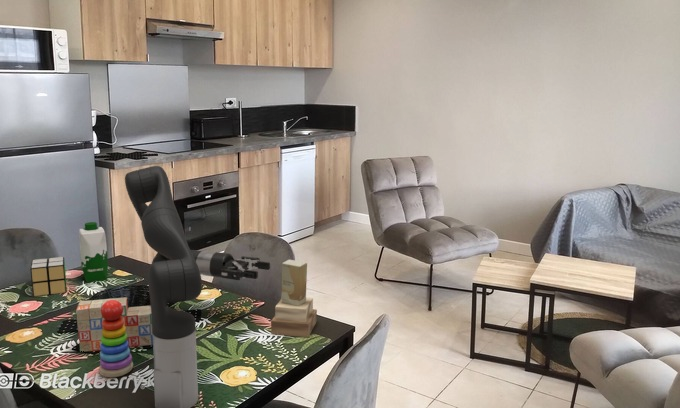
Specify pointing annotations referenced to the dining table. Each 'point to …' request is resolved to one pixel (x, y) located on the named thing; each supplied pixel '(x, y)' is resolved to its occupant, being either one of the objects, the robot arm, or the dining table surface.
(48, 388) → the dining table surface
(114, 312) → the stacking toy
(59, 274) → the puzzle cube
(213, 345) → the dining table surface
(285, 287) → the skincare box
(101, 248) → the milk carton
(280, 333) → the stepped wooden pedestal
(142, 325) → the stack of blocks
